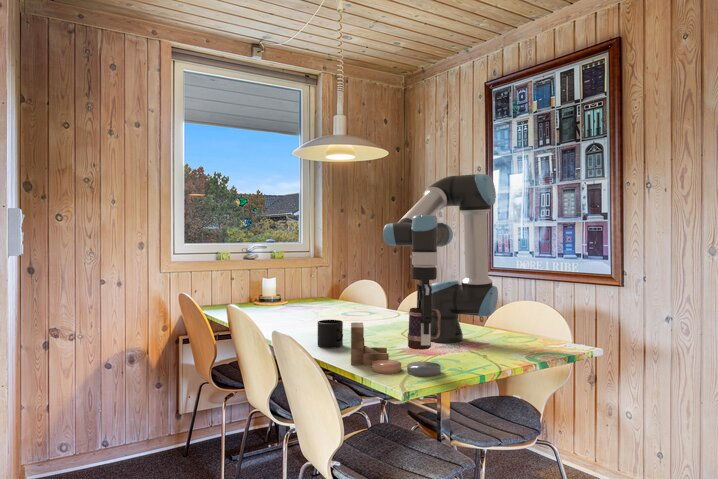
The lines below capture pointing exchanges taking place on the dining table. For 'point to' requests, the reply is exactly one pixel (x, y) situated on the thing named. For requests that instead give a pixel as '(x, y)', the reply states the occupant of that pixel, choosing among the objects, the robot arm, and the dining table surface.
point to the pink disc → (386, 366)
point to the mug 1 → (330, 333)
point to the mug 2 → (419, 329)
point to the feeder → (364, 348)
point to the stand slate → (423, 369)
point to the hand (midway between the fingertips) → (423, 342)
